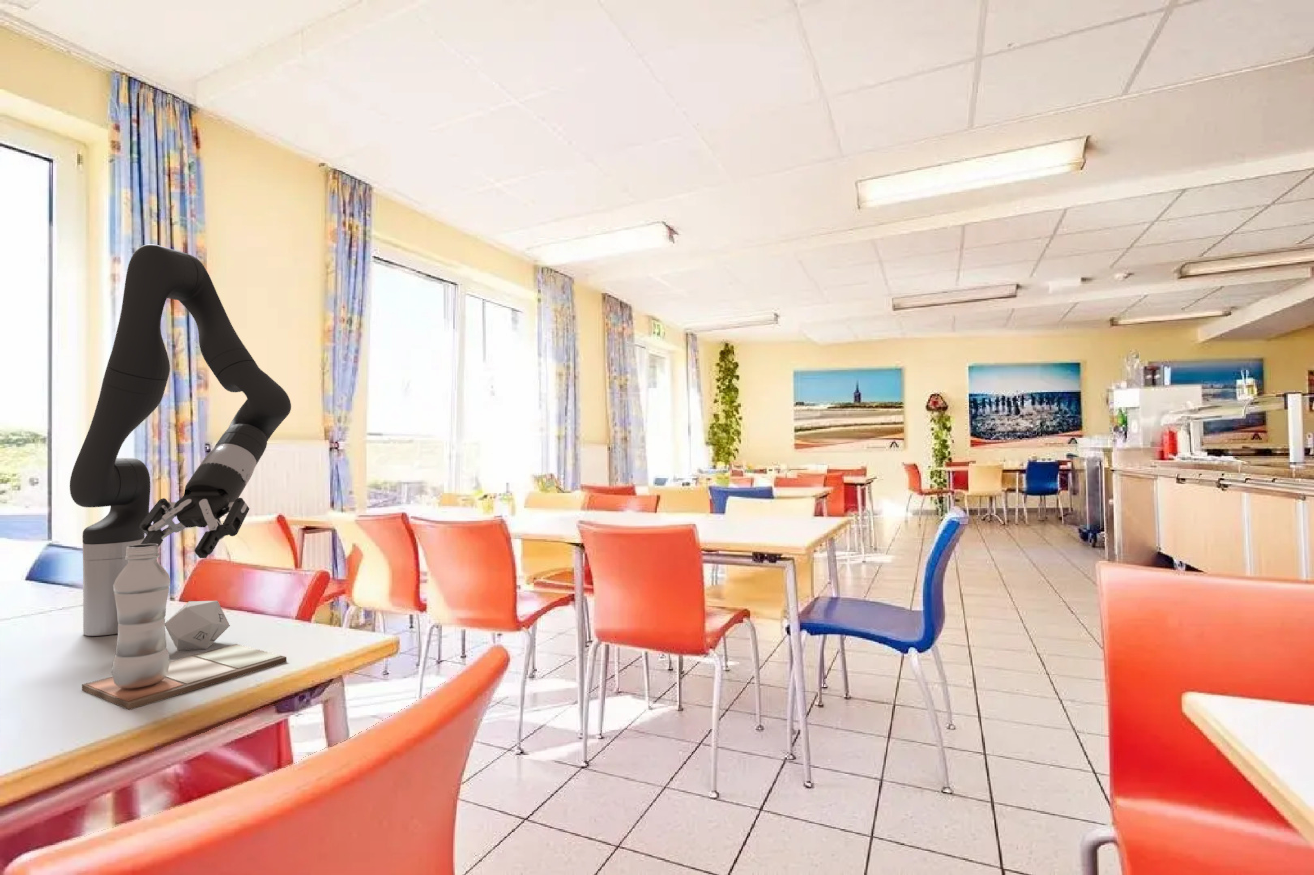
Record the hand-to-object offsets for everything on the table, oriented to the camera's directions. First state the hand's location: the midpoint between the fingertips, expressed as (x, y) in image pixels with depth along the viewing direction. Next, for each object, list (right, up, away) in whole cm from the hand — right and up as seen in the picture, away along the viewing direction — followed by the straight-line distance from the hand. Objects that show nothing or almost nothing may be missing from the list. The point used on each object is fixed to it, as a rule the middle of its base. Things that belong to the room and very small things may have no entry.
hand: (171, 555), depth 98 cm
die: (-7, -19, +15) cm, 25 cm away
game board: (+2, -18, +1) cm, 19 cm away
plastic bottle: (0, -18, -6) cm, 19 cm away
